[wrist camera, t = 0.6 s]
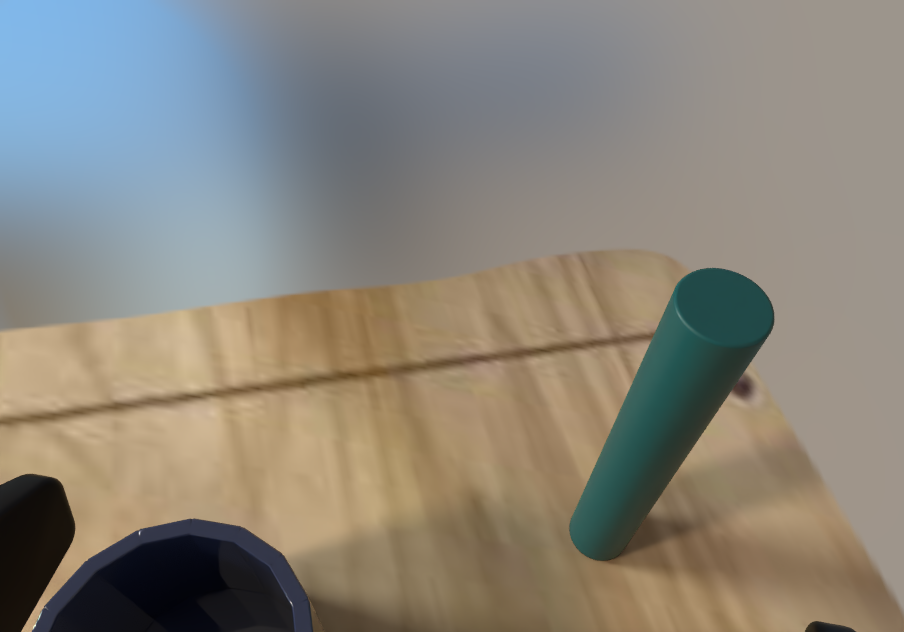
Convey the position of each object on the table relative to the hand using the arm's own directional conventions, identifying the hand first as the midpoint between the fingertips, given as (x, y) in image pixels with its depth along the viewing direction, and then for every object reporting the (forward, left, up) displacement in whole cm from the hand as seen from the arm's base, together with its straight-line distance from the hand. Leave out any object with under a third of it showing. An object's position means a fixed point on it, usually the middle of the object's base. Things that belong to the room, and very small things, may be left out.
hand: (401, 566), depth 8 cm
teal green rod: (+7, -5, -16) cm, 18 cm away
